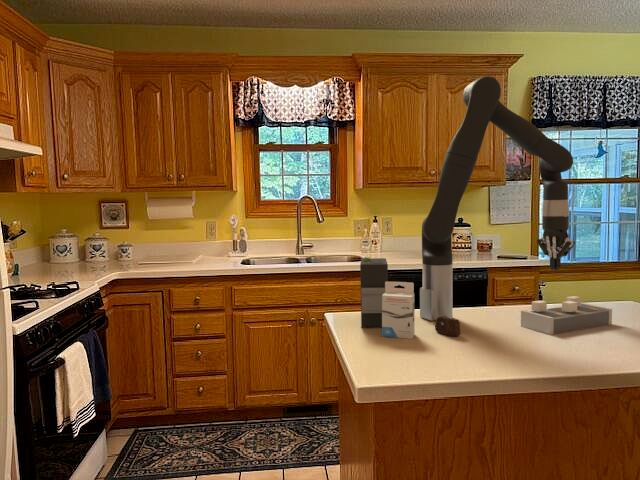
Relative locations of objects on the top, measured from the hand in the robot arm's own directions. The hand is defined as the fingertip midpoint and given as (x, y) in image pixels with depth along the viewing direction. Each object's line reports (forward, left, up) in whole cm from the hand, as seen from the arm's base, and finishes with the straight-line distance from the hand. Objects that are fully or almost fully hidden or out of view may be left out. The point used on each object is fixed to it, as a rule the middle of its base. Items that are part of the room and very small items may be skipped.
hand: (555, 269), depth 154 cm
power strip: (-7, -10, -15) cm, 19 cm away
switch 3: (-7, -11, -11) cm, 17 cm away
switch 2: (0, -7, -11) cm, 13 cm away
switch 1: (-14, -7, -11) cm, 19 cm away
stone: (-43, -2, -15) cm, 46 cm away
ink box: (-56, +3, -15) cm, 58 cm away
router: (-54, +20, -15) cm, 59 cm away
